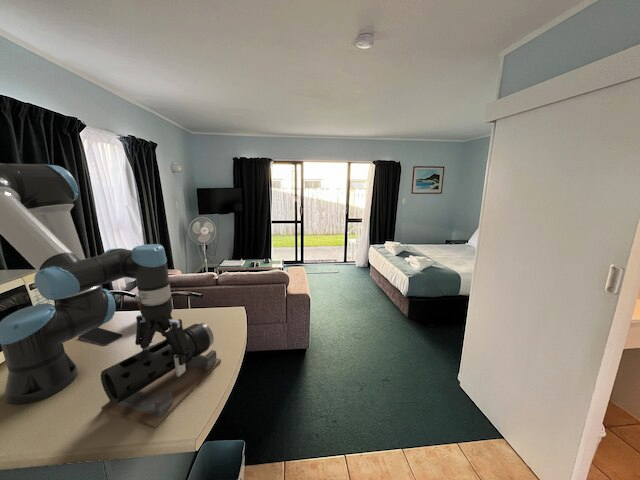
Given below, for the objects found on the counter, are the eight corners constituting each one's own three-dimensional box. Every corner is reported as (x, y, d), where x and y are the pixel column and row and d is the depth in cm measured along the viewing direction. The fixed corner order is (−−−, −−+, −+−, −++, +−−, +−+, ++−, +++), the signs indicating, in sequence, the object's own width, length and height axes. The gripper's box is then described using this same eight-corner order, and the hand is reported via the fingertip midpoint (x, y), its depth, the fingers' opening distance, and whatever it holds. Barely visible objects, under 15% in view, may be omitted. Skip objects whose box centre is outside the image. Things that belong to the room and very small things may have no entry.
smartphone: (104, 345, 101) (76, 336, 105) (105, 348, 101) (77, 339, 105) (124, 334, 107) (96, 327, 112) (124, 337, 108) (97, 329, 112)
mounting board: (101, 410, 73) (97, 393, 72) (177, 352, 97) (175, 338, 96) (155, 428, 68) (152, 409, 67) (221, 361, 92) (219, 347, 91)
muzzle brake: (104, 398, 73) (97, 364, 71) (198, 344, 96) (195, 317, 94) (121, 414, 68) (114, 378, 66) (216, 353, 91) (214, 325, 89)
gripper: (111, 300, 76) (124, 370, 81) (179, 312, 70) (188, 387, 75) (136, 290, 83) (146, 354, 88) (199, 299, 77) (207, 368, 82)
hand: (166, 369), depth 82 cm, fingers closed on muzzle brake, 10 cm apart
